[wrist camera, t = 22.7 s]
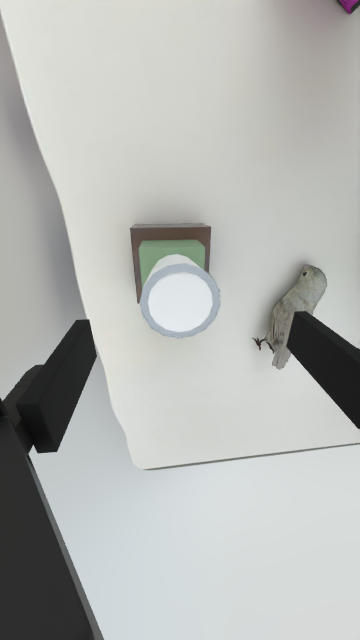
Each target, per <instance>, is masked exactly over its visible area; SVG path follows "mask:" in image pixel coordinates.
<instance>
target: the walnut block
mask: <svg viewBox="0 0 360 640" xmlns="http://www.w3.org/2000/svg"><path fill="white" fill-rule="evenodd" d="M130 231H131V241H132V252H133V262H134V272H135V282H136V293H137V303H140V299H141V295H142V281H141V270H140V258H139V247H140V245H141V242H142V241H148V240H198V241H199V242H200V243H201V244H202V245H203V246H205V262H204V271H206V272H207V273H208V274H209V256H210V236H211V227H210V226H208V225H205V224H139V225H133V226H132V227H131V228H130Z"/></svg>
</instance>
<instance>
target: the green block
mask: <svg viewBox="0 0 360 640" xmlns="http://www.w3.org/2000/svg"><path fill="white" fill-rule="evenodd" d="M174 254H179V255H183V256H186V257H188V258H189V259H191V260H192V261H193V262H194V263H196V264H197V265H198V266H199V267H201V268H202V269H203V270H204V262H205V246H203V245H202V244H201V243H200V242H199V241H198V240H148V241H142V242H141V245H140V247H139V258H140V270H141V281H142V290H143V286H144V284H145V282H146V280H147V278H148V276H149V274H150V272H151V270H152V269H153V267H154V266H155V264H156V263H157V262H158V261H159V260H160V259H162V258H164V257H165V256H167V255H174Z"/></svg>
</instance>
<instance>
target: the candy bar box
mask: <svg viewBox="0 0 360 640" xmlns="http://www.w3.org/2000/svg"><path fill="white" fill-rule="evenodd" d="M337 1H338V2H339V3H340V4H341V5H342V6H343V7H344V9H345V10H346V11H347V12H348V13H349V14H351V13H352V12H353V11H354V10H355V9H357V8H358V7H359V6H360V0H337Z"/></svg>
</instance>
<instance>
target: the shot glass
mask: <svg viewBox="0 0 360 640" xmlns="http://www.w3.org/2000/svg"><path fill="white" fill-rule="evenodd" d="M140 305H141V310H142V314H143V317H144V319H145V320H146V321H147V323H148V324H149V325H150V327H151V328H152V329H154V330H155V331H157V332H159V333H160V334H162V335H164V336H169V337H174V338H183V337H190V336H194V335H195V334H197V333H199V332H201V331H203V330H205V329H206V328H207V327H208V326H209V325H210V324H211V323H212V321H213V320H214V319H215V317H216V315H217V312H218V310H219V307H220V291H219V289H218V287H217V285H216V283H215V281H214V279H213V277H212V276H210V275H209V274H208V273H207V272H206V271H204V270H203V269H202V268H201V267H199V266H198V265H197V264H196V263H194V262H193V261H192V260H191V259H189V258H188V257H186V256H183V255H179V254H174V255H167V256H165V257H164V258H162V259H160V260H159V261H158V262H157V263H156V264H155V266H154V267H153V269H152V270H151V272H150V274H149V276H148V278H147V280H146V282H145V284H144V286H143V290H142V295H141V299H140Z"/></svg>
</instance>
